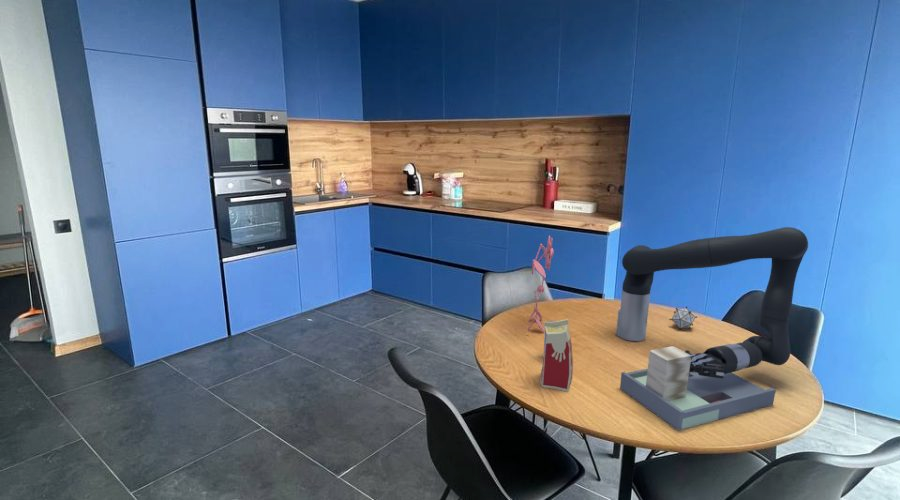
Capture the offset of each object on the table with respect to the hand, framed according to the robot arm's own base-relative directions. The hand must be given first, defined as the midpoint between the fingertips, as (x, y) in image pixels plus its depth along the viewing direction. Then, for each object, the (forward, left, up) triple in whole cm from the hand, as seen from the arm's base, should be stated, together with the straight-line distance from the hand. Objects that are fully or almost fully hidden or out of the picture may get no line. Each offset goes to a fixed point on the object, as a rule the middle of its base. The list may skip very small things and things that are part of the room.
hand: (678, 369), depth 124 cm
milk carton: (-30, -12, -10) cm, 34 cm away
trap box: (+3, +6, -9) cm, 12 cm away
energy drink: (-38, +1, -10) cm, 39 cm away
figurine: (-52, +23, -10) cm, 58 cm away
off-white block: (-2, -4, -7) cm, 8 cm away
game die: (-12, +55, -10) cm, 57 cm away
